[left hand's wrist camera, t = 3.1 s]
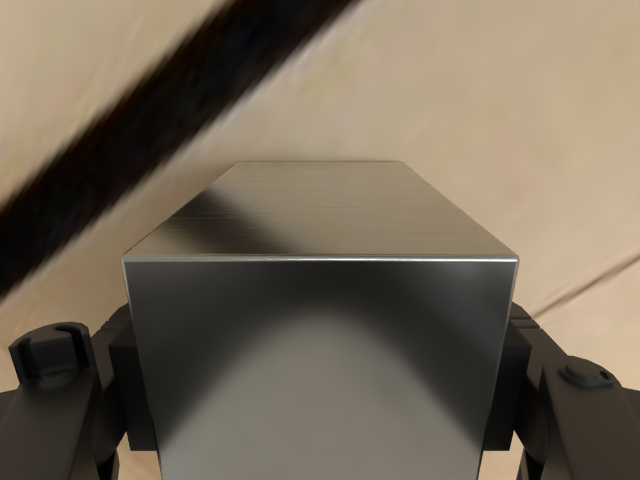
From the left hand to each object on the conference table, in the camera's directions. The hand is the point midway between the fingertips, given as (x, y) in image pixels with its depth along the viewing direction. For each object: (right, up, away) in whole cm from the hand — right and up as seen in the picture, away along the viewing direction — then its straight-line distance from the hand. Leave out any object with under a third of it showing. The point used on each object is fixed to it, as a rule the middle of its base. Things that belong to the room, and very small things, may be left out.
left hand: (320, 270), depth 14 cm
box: (0, -6, +3) cm, 7 cm away
